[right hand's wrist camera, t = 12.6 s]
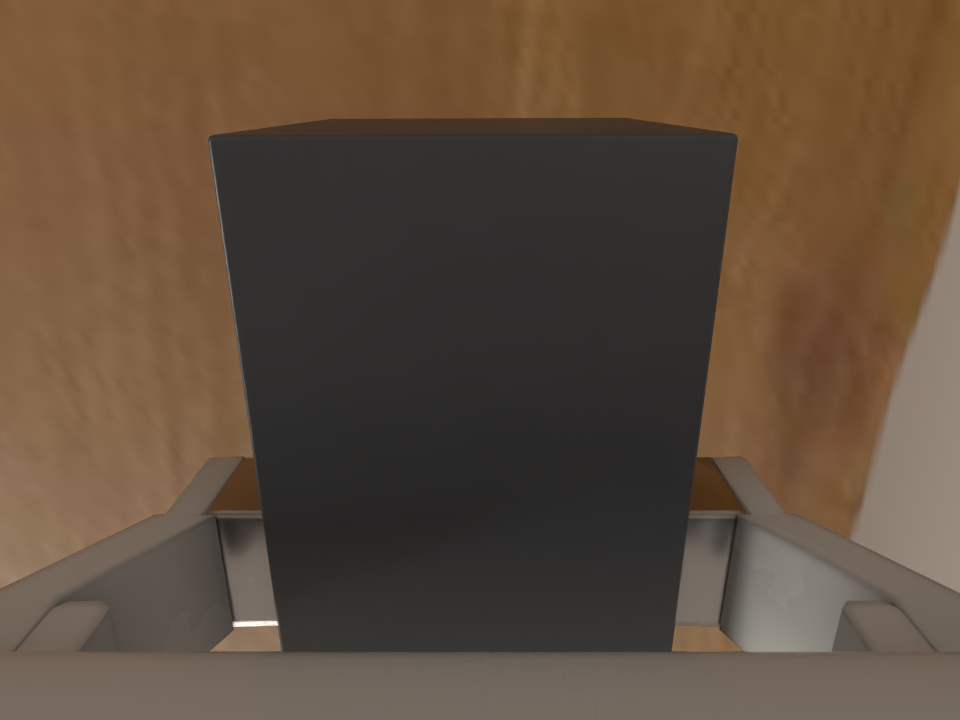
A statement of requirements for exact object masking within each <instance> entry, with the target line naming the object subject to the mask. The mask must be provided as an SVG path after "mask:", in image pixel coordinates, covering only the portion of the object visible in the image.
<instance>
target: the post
mask: <svg viewBox="0 0 960 720" xmlns="http://www.w3.org/2000/svg"><path fill="white" fill-rule="evenodd" d="M737 141H738V139H737V135H735V134H733V133H726V132H719V131H712V130H705V129H698V128H691V127H684V126H677V125H671V124H664V123H657V122H650V121H643V120H636V119H629V118H487V119H328V120H321V121H314V122H306V123H299V124H292V125H284V126H277V127H270V128H262V129H255V130H247V131H240V132H233V133H225V134H218V135H212V136H210V137H209V140H208V142H209V149H210V156H211V163H212V170H213V177H214V184H215V191H216V198H217V205H218V212H219V219H220V226H221V233H222V240H223V247H224V254H225V261H226V268H227V275H228V281H229V288H230V295H231V302H232V309H233V316H234V323H235V330H236V337H237V344H238V351H239V358H240V365H241V372H242V379H243V386H244V393H245V400H246V407H247V414H248V421H249V428H250V435H251V442H252V449H253V456H254V463H255V470H256V477H257V484H258V491H259V497H260V504H261V511H262V518H263V525H264V532H265V539H266V546H267V553H268V560H269V567H270V574H271V581H272V588H273V595H274V602H275V609H276V616H277V623H278V630H279V637H280V644H281V651H282V652H671V651H672V643H673V635H674V628H675V620H676V612H677V604H678V597H679V589H680V581H681V573H682V566H683V558H684V550H685V543H686V535H687V527H688V519H689V512H690V504H691V496H692V489H693V481H694V473H695V465H696V458H697V450H698V442H699V434H700V427H701V419H702V411H703V404H704V396H705V388H706V380H707V373H708V365H709V357H710V350H711V342H712V334H713V326H714V319H715V311H716V303H717V295H718V288H719V280H720V272H721V265H722V257H723V249H724V241H725V234H726V226H727V218H728V211H729V203H730V195H731V187H732V180H733V172H734V164H735V156H736V149H737Z"/></svg>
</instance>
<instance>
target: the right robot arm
mask: <svg viewBox="0 0 960 720" xmlns="http://www.w3.org/2000/svg"><path fill="white" fill-rule="evenodd" d="M276 625H278V623H277V616H276V609H275V602H274V595H273V588H272V581H271V574H270V567H269V560H268V553H267V546H266V539H265V532H264V525H263V518H262V511H261V504H260V497H259V491H258V484H257V477H256V470H255V463H254V457H247V458H245V457H214V458H209V459H208V460H207V461H206V463H205V464H204V465H203V466H202V468H201V469H200V470H199V472H198V473H197V474H196V476H195V477H194V478H193V479H192V481H191V482H190V483H189V485H188V486H187V487H186V489H185V490H184V491H183V492H182V494H181V495H180V496H179V498H178V499H177V500H176V502H175V503H174V504H173V505H172V507H171V508H170V509H169V511H168V512H167V513H166V515H153V516H151V517H149V518H147V519H145V520H143V521H141V522H139V523H137V524H135V525H132V526H130V527H128V528H126V529H124V530H122V531H120V532H118V533H116V534H114V535H112V536H110V537H107V538H105V539H103V540H101V541H99V542H97V543H95V544H93V545H91V546H89V547H87V548H85V549H82V550H80V551H78V552H76V553H74V554H72V555H70V556H68V557H66V558H64V559H62V560H60V561H57V562H55V563H53V564H51V565H49V566H47V567H45V568H43V569H41V570H39V571H37V572H35V573H33V574H30V575H28V576H26V577H24V578H22V579H20V580H18V581H16V582H14V583H12V584H10V585H8V586H5V587H3V588H1V589H0V720H960V593H958V592H956V591H954V590H952V589H950V588H948V587H946V586H944V585H942V584H939V583H937V582H935V581H933V580H931V579H929V578H927V577H925V576H923V575H921V574H919V573H917V572H915V571H913V570H911V569H909V568H907V567H905V566H902V565H900V564H898V563H896V562H894V561H892V560H890V559H888V558H886V557H884V556H882V555H880V554H878V553H876V552H874V551H872V550H870V549H868V548H866V547H863V546H861V545H859V544H857V543H855V542H853V541H851V540H849V539H847V538H845V537H843V536H841V535H839V534H837V533H835V532H833V531H831V530H829V529H826V528H824V527H822V526H820V525H818V524H816V523H814V522H812V521H810V520H808V519H806V518H804V517H802V516H800V515H787V513H786V512H785V511H784V509H783V508H782V507H781V505H780V504H779V503H778V501H777V500H776V499H775V497H774V496H773V495H772V493H771V492H770V491H769V489H768V488H767V487H766V485H765V484H764V483H763V481H762V480H761V479H760V478H759V476H758V475H757V474H756V472H755V471H754V470H753V468H752V467H751V466H750V464H749V463H748V462H747V460H746V459H744V458H742V457H740V456H738V457H715V458H710V457H699V458H696V465H695V473H694V481H693V489H692V496H691V504H690V512H689V519H688V527H687V535H686V543H685V550H684V558H683V566H682V573H681V581H680V589H679V597H678V604H677V612H676V620H675V625H676V626H713V627H720V630H721V631H722V632H723V633H724V634H725V635H726V636H728V637H729V638H730V639H731V640H732V641H733V642H734V643H735V644H737V645H738V646H739V647H740V648H741V649H742V650H743V651H744V652H209V651H210V650H211V649H213V648H214V647H215V646H216V645H217V644H218V643H219V642H221V641H222V640H223V639H224V638H225V637H226V636H227V635H228V634H230V633H231V632H232V631H233V630H234V628H233V627H240V626H276Z"/></svg>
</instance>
